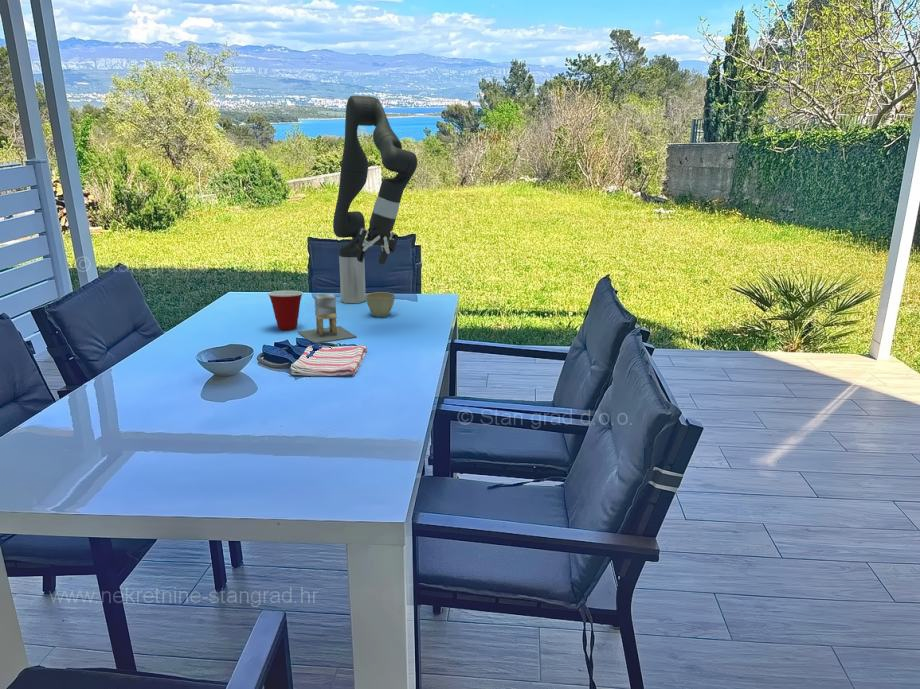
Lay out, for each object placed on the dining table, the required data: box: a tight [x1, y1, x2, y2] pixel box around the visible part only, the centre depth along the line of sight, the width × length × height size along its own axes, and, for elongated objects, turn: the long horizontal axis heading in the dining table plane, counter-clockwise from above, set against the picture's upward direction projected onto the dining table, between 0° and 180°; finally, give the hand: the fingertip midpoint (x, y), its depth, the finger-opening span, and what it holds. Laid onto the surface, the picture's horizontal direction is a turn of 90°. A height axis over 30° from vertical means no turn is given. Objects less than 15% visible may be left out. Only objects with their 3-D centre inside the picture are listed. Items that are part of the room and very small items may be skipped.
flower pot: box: [365, 291, 396, 318], centre depth 231 cm, size 10×10×7 cm
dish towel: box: [289, 345, 368, 377], centre depth 182 cm, size 17×23×4 cm
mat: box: [297, 325, 357, 344], centre depth 208 cm, size 14×14×1 cm
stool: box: [314, 293, 338, 337], centre depth 206 cm, size 6×6×12 cm
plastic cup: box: [267, 290, 304, 331], centre depth 214 cm, size 11×11×12 cm
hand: (370, 262), depth 211 cm, fingers open, 8 cm apart
